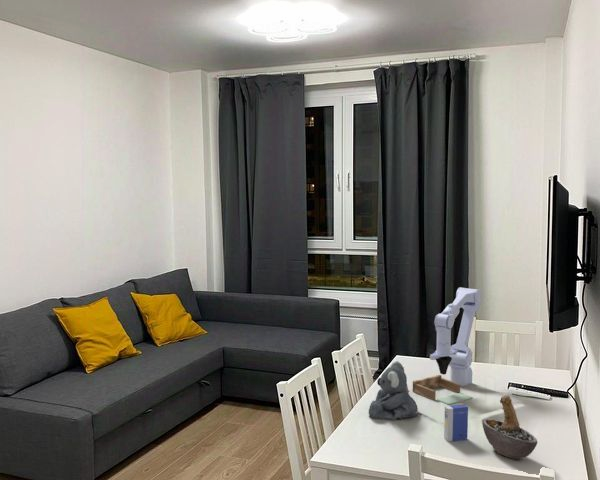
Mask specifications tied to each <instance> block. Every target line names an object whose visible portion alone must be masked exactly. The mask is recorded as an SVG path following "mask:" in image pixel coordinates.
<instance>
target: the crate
mask: <svg viewBox="0 0 600 480" xmlns="http://www.w3.org/2000/svg"><path fill="white" fill-rule="evenodd" d="M438 387H440V388H442V389H445V390H448V391H451V392H454V393H455V394H457V393H461V387H462V386H461V384H458V383H455V382H452V381H450V379H446V378H443V377H442V374H437V375H433V376H430V377H429V376H428V377H425V378H421V379H417V380H412V392H413V393H414V394H417V395H420V396H422V397H424V398H427V399H429V400H431V401H435V400H436V398H437V397H436V395H437V394H436V390H434V388H438Z"/></svg>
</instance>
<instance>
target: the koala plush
mask: <svg viewBox="0 0 600 480" xmlns="http://www.w3.org/2000/svg"><path fill="white" fill-rule="evenodd" d="M407 381H408V379H407V375H406V372H405V367H404V366H403V364H402V363H401V362H400V361H399V360H397V361H394V362H391V365H390V366H389V367H388V368H387V369H386V370H385V371H384V372H383V373H382V375H381V376H380V377H378V379H377V382H376V383H377V385H378V386H379V387H380V389H379V390H377V391H378V392H377V393H376V397H375V400H372V401H371V402H370V404H369V408H368V415H369V417H372V418H374V419H381V420H391V421H397V419H400V420H402V419H405V418H414V417H415V416H416V415H417V413H418V409H419V408H418V405H417V403H416V401H415V399H414V398H413V396H411V395H410V393H409V391H408V392H407V388H406V386H407V387H408V383H407Z"/></svg>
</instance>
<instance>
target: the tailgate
mask: <svg viewBox="0 0 600 480" xmlns="http://www.w3.org/2000/svg"><path fill="white" fill-rule="evenodd" d="M472 399H473V396H470V395H468V394H465V393H462V392H460V393H453V394H451V395H447V396H443V397H439V398H437V399H436V401H437V402H440V403H442V404H445V405H446V406H452V405H456V404H458V403H461V402H464V401H469V400H472Z"/></svg>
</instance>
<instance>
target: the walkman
mask: <svg viewBox="0 0 600 480" xmlns="http://www.w3.org/2000/svg"><path fill="white" fill-rule="evenodd" d="M443 422H444V425H443V427H444V428H443V429H444V434H443V438H444V440H445V441H446V442H456V441H463V440H468V431H469V430H468V429H469V426H468V423H469V407H468V406H467V405H466V404H465V403H459V404H452V405H446V406H445V405H444V421H443Z"/></svg>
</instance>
